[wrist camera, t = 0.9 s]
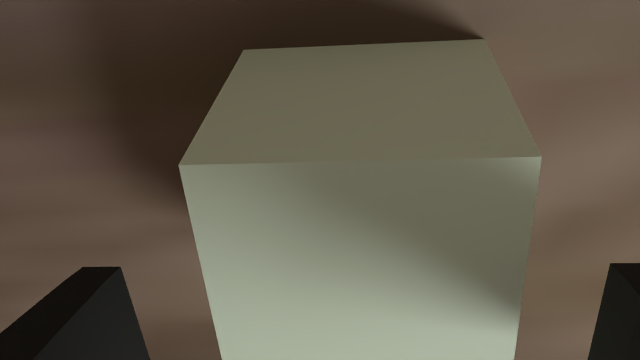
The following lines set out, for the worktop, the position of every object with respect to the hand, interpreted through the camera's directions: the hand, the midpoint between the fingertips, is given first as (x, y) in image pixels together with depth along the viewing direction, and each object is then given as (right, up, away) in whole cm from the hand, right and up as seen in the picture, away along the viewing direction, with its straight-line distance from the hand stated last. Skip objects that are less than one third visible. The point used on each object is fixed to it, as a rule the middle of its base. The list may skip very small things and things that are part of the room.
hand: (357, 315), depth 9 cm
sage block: (0, +3, +5) cm, 6 cm away
